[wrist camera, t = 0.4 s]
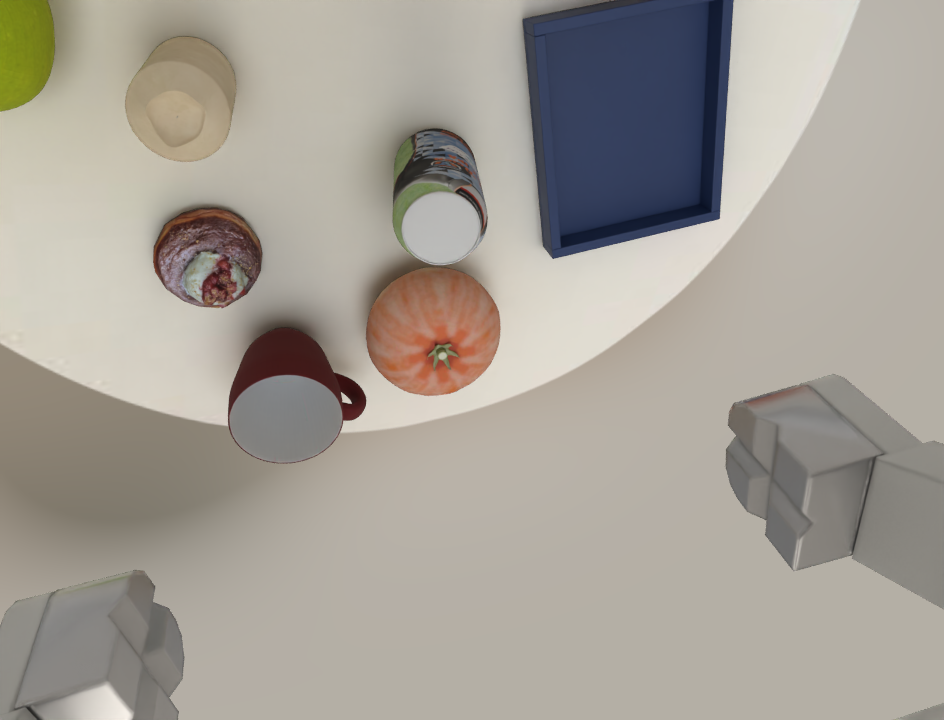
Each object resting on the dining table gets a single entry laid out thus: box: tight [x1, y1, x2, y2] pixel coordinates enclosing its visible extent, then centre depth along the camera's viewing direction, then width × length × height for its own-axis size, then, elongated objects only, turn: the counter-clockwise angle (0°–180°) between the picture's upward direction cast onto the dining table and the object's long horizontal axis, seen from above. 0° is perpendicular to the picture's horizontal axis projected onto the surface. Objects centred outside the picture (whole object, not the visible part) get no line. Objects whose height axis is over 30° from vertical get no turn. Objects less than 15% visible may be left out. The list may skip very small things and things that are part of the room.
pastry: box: [153, 208, 262, 308], centre depth 52 cm, size 8×8×5 cm
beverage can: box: [393, 129, 488, 265], centre depth 49 cm, size 6×7×12 cm
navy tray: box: [523, 0, 733, 259], centre depth 55 cm, size 18×15×2 cm
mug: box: [228, 328, 366, 463], centre depth 56 cm, size 10×8×10 cm
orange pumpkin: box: [366, 267, 500, 396], centre depth 57 cm, size 11×11×8 cm
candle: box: [125, 37, 236, 162], centre depth 43 cm, size 6×6×10 cm
